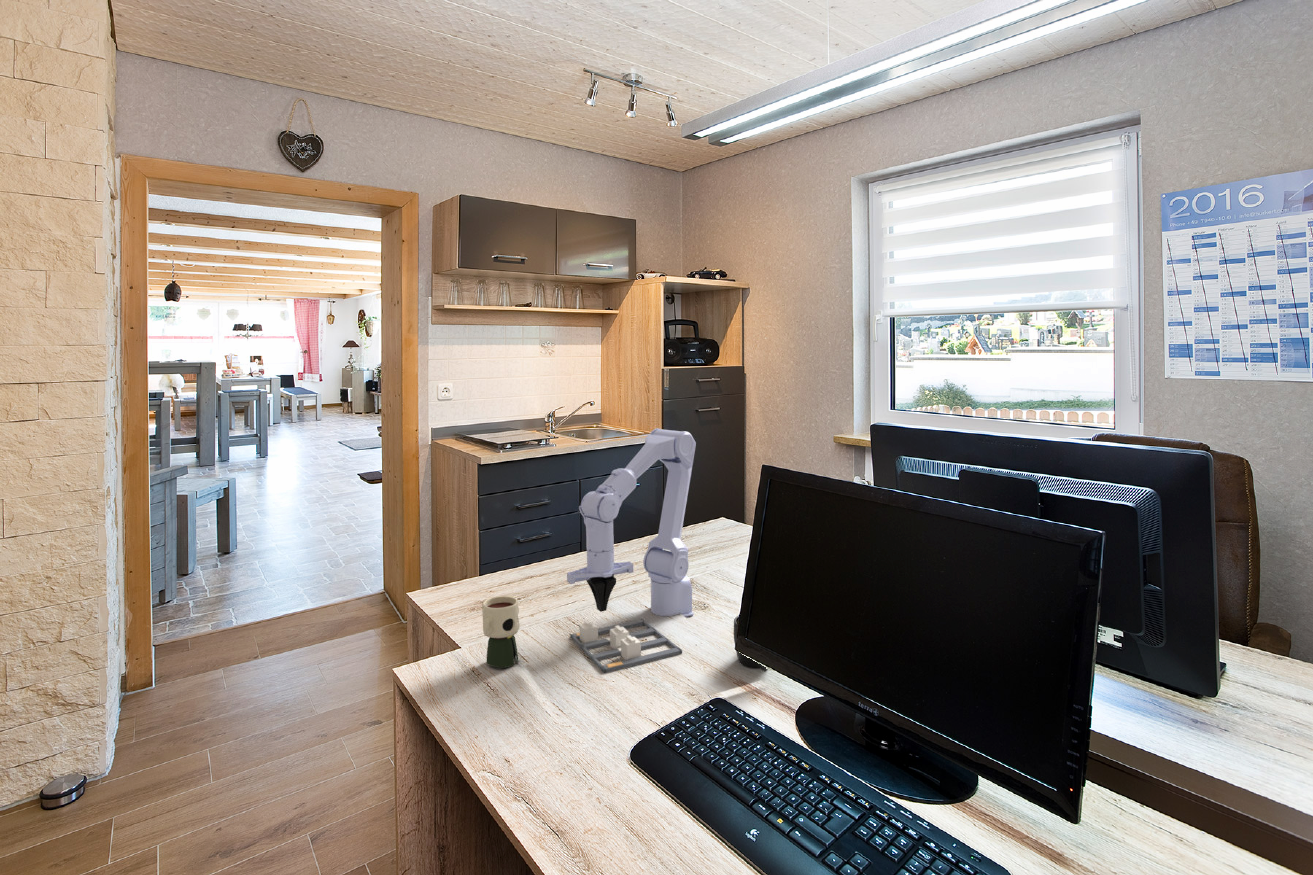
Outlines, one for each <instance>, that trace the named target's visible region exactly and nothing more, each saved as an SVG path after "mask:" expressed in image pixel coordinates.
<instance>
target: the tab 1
mask: <svg viewBox="0 0 1313 875" xmlns="http://www.w3.org/2000/svg"><path fill="white" fill-rule="evenodd" d="M578 627H579V628H578V631H579V632H578V633H579V634H580V639H579V641H580V642H581V643H582V644H583V643H587V642H592V641H596V640H599V635H598V628H599V626H598V625H596V624H595V622H594V621H589V620H584V622H583V623H579V626H578Z"/></svg>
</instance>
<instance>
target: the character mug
mask: <svg viewBox="0 0 1313 875" xmlns="http://www.w3.org/2000/svg"><path fill="white" fill-rule="evenodd" d="M481 607H482V608H481V610H482V613H481V614H482V631H483V635H484V636H485V637H488V641H487V648H486V649H487V650H486V661H485V662H486V664H488V665H489V666H491V667H495V668H498V669H503V668H509V667H511V666H514V665H515V660H516V663H517V662H519V653H518V646H517V641H516V637H515V635H516V634H518V632H519V630H520V619H519V613H520V609H519V600H518V599H517V598H516V597H514V596H510V595H498V596H496V595H495V596H492V597H490V598H486V599H485V600H483V601H482V605H481Z"/></svg>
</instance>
